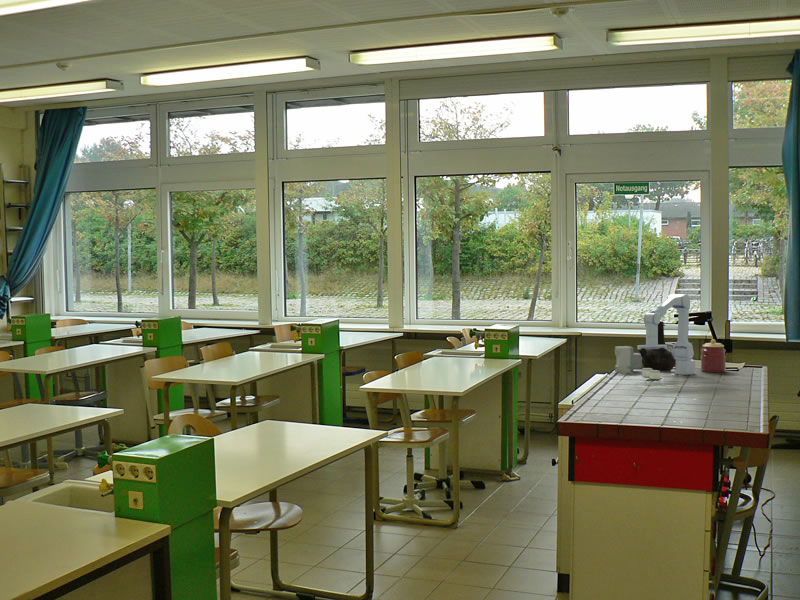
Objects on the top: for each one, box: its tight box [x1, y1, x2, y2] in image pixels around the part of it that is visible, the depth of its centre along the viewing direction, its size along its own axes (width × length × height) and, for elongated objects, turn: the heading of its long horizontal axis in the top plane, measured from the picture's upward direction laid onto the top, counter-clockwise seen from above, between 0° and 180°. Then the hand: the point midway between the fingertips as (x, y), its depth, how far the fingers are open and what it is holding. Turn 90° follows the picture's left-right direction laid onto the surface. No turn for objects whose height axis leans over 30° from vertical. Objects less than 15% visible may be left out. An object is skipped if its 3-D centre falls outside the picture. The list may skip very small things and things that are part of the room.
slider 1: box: [641, 367, 653, 378], centre depth 422 cm, size 4×4×4 cm
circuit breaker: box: [614, 345, 643, 374], centre depth 441 cm, size 8×14×15 cm, turn 89°
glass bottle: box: [642, 321, 676, 372], centre depth 449 cm, size 18×18×28 cm
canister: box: [700, 338, 727, 373], centre depth 449 cm, size 13×13×18 cm
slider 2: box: [649, 370, 661, 380], centre depth 414 cm, size 4×4×4 cm
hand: (651, 363), depth 413 cm, fingers open, 7 cm apart
